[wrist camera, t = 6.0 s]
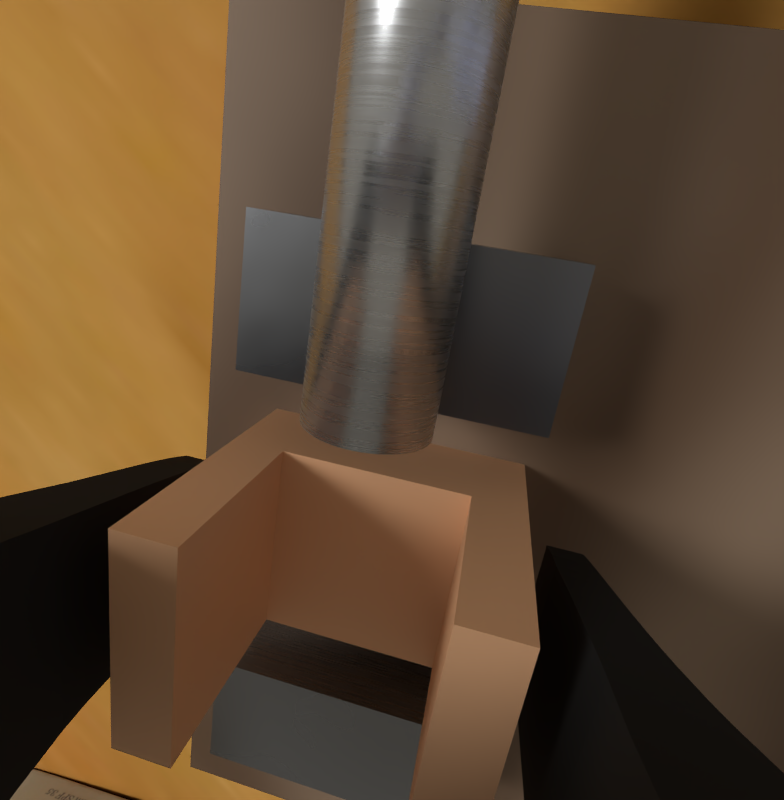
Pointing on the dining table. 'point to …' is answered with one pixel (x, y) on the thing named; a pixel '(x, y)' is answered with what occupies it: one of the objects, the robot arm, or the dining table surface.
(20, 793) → the box
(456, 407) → the supports
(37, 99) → the dining table surface
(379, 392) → the shaft
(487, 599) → the bracket
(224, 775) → the board
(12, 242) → the dining table surface
